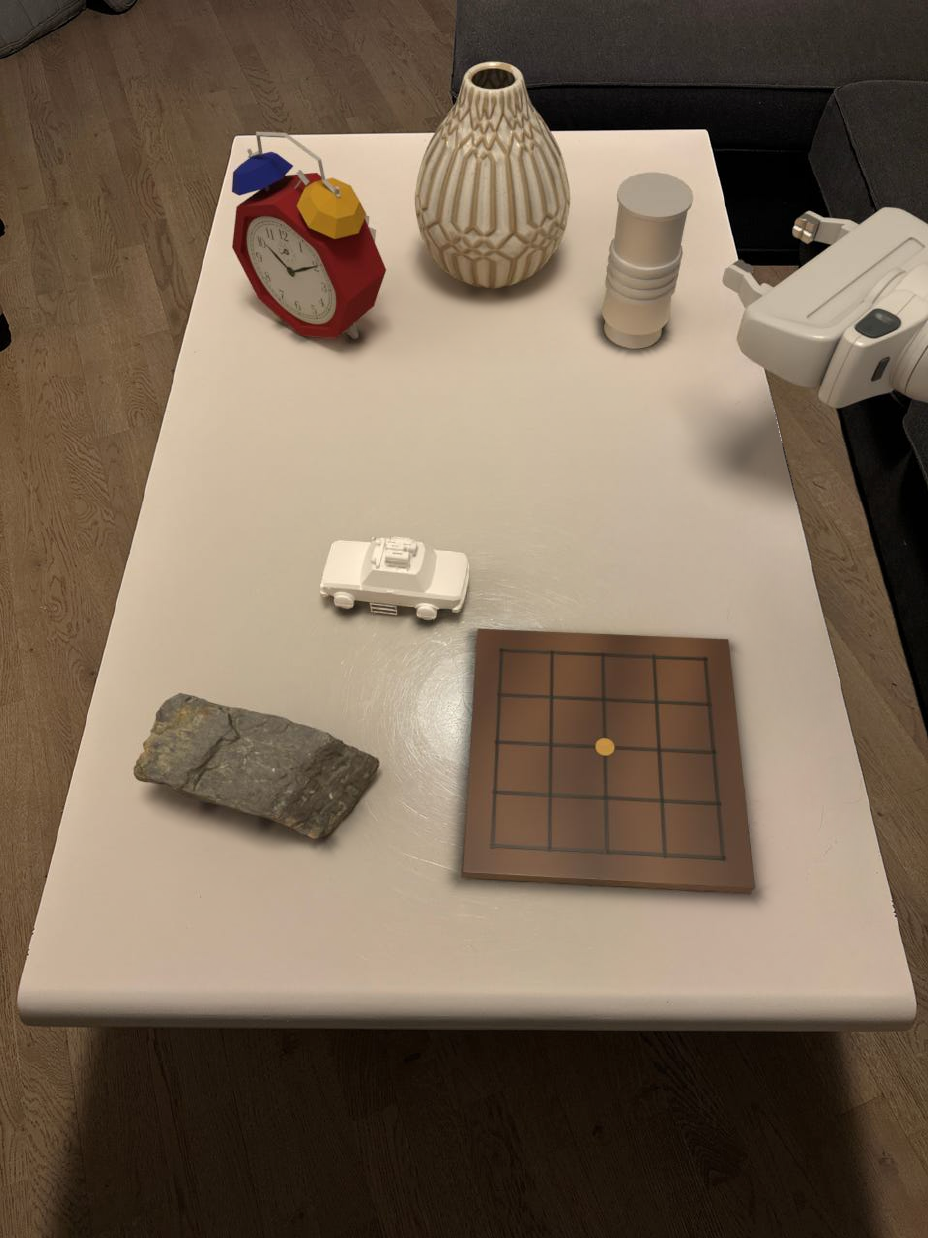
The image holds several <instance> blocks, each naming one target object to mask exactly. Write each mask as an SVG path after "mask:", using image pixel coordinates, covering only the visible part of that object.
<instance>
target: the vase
mask: <svg viewBox="0 0 928 1238" xmlns="http://www.w3.org/2000/svg"><path fill="white" fill-rule="evenodd" d="M416 178H417V179H416V184H415V192H414V210H415V211H414V212H415V217H416V222H417V226H418V230H419V233H420V236H421V238H422V241H423V243H424V245H425V247H426V249H427V251H428V252H429V254H430V256H431V257H432V258H433V260H434V261H435V262H436V263H437V264H438V266H439V267H440V268H441V269H442V270H443V271H445V272H446V273H447V274H449V275H450V276H451V277H453V278H455V279H456V280H458V281H461V282H463V283H465V284H467V285H470V286H473V287H478V288H482V289H499V288H506V287H509V286H512V285H516V284H518V283H521V282H523V281H526V280H527V279H529V278H530V277H532V276H534V275H535V274H536V273H537V272H538V271H540V270H542V268H544V267H545V265H546V264H547V263H548V262H549V260H551V258H552V256H553V255H554V254H555V252H556V250H557V249H558V247H559V245H560V243H561V241H562V239H563V237H564V234H565V231H566V229H567V228H566V227H567V225H568V219H569V216H570V208H571V189H570V181H569V176H568V171H567V167H566V163H565V160H564V157H563V154H562V151H561V148H560V146H559V144H558V142H557V140H556V138H555V136H554V135H553V133H552V131H551V130H550V128H549V126H548V125H547V123H546V121H545V120H544V118H543V117H542V116H541V114H540V113H539V112H538V110H537V109H536V107H534V105H533V103H532V101H531V99H530V96H529V93H528V89H527V86H526V81H525V78H524V75H523V73H522V72H521V70H520V69H518V68H517V67H516V66H514V65H512V64H510V63H507V62H501V61H486V62H485V61H484V62H480V63H477V64H476V65H473V66H471V67H470V68H469V69H468V70H466V72H465V74H464V75H463V78H462V81H461V85H460V88H459V93H458V95H457V98H456V100H455V103H454V104H453V106H452V108H451V109H450V110H449V111H448V113H447V114H446V115H445V117H444V118H443V120H441V122H440V123H439V125H438V127H437V129H436V130H435V132H434V133H433V135H432V137H431V138H430V140H429V143H428V145H427V147H426V148H425V152H424V154H423V156H422V160H421V163H420V166H419V170H418V174H417V177H416Z"/></svg>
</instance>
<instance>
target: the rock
mask: <svg viewBox="0 0 928 1238" xmlns="http://www.w3.org/2000/svg"><path fill="white" fill-rule="evenodd" d="M149 733H150V734H149V736H148V737H147V738H146V739H145V740H144V741H143V743H142V747H143V750H144V751H143V752H141V753H140V754H139V757H138V758H137V760H136V761H135V765H134V766H133V776H134V777H135V779H136V780H137V781H138V782H142V783H146V784H147V783H148V784H155V785H159V786H165V787H168V788H170V789H172V790H173V791H175V792H177V793H178V794H180V795H183V796H186V797H188V798H191V799H195V800H198V801H200V802H203V803H210V804H211V805H215V806H221V807H225V808H228V809H231V810H233V811H236V812H240V813H245V814H248V815H254V816H259V817H261V818H264V819H267V820H270V821H272V822H276V823H279V824H282V825H283V826H285V827H288V828H290V829H292V830H294V831H296V832H297V833H299V834H302V835H305V836H308V837H310V838H311V839H317V838H319V837H323V836H328V835H329V834H330V833H331V832H332V831H333V830H334V829H335V828H336V827H337V826H338V824H339V823H340V822H341V821H342V820H343V818H345V817H346V816H347V814H348V813H349V812H350V811H351V810H352V809H353V808H354V807H355V805H356V803H357V801H358V799H359V797H360V796H361V794H362V793H363V791H364V790H365V789H366V787H367V786H369V785H370V783H371V781H372V780H373V779H374V777H375V776H376V774H377V771H378V769H379V767H380V760H379V758H378V757H376V756H374V755H372V754H370V753H368V752H366V751H362V750H360V749H359V748H358V747H356V746H353V745H349V744H346V743H344V741H343V740H341V739H339V738H336V737H335V736H333V735H331V734H330V733H329V732H325V731H322V730H321V729H318V728H315V727H311V726H308V725H305V724H302V723H301V724H300V723H296V722H294V721H292V720H290V719H289V718H286V717H283V716H281V715H275V714H269V713H263V712H259V711H254V710H248V709H246V708H241V707H235V706H228V705H224V704H218V703H215V702H210V701H208V700H206V699H205V698H200V697H198V696H196V695H192V694H187V693H183V692H179V693H177V694H175V695H173V696H172V697H169V698H168V699H166V700H165V701H164V702H163V703H162V704H161V705H160V706H159V709H158V710H157V711H156V712H155V719H154V722H153V724H152V728H151V729H150V731H149Z"/></svg>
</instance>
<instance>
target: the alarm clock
mask: <svg viewBox="0 0 928 1238" xmlns="http://www.w3.org/2000/svg"><path fill="white" fill-rule="evenodd" d="M255 136H256V143H257V149H258V150H257V151H255V152H253V151H252V148H248V149H247V150H246V151H247V153H248V156H247V159H245V160H244V161H243V162H242V163H241V164H239V165H238V166H237V168H235V169H234V171H233V172H232V183H231V193H233V194H235V195H237V196H243V195H246V194H247V195H248V194H250V193H253V192H255V193H253V194H252V195H251V196H249V197H248V198H247V199H245V200H243V201H242V202H241V203H239V204H238V205H237V206H236V208H235V217H234V227H233V236H232V237H233V238H232V245H231V249H232V250H233V252H234V254H235V256H236V258H237V260H238V262H239V264H240V266H241V267H242V270H243V271H244V273H245V276H246V277H247V280H248V282H249V283H250V285H251V288H252V289H253V292H254V293H255V295H256V297H257V299H258V301H260V302H261V303H262V304H263V305H265V306H266V307H267V308H268V309H269V310H270V311H271V312H272V313H274V315H276V316H277V317H278V318H280V319H281V321H283V322H284V323H285V324H286V325H287V326H289V328H291V329H292V330H293V331H294V332H296V333H297V334H298V335H299V336H300V337H312V338H326V339H338V338H339V337H341V335H342V334H344V333H345V332H346V333H347V334H348V335H349V336H350V337H351V338H352V339H353V340H354V339H358V337H359V333H358V330H357V328H356V324H355V323H356V322H358V321H359V320H360V319H361V318H362V317H363V316H365V315H366V314H368V312H369V311H370V310H372V309H373V308H374V307H375V304H376V301H377V298H378V295H379V293H380V290H381V287H382V283H383V281H384V278H385V275H386V271H387V268H386V266H385V263H384V261H383V259H382V256H381V254H380V250H379V249H378V246H377V244H376V236H377V229H374V228H372V227H370V225H369V224H370V216H369V215H367V212H366V210H365V208H364V207H363V205H362V203H361V201H360V199H359V197H358V196H357V194H356V192H355V191H354V189H353V187H352V185H351V184H348V183H347V182H343V181H342V180H339V179H337V178H335V177H329V178H326V176H325V171H324V166H323V161H322V159H321V158H320V157H319V156H318V155H317V154H315V153H314V152H312V151H311V150H310V149H309V148H307V147H306V146H304V145H303V144H302V143H300V142H299V141H298V140H297V139H295V138H294V137H293V136H291V135H290V134H288V133H287V132H276V131H275V132H274V131H255ZM261 137H263V138H281V139H282V138H283V139H284V138H285V139H287V140H289V141H290V142H291V143H293V145H295V146H297V147H298V148H299V149H300V150H302V151H303V152H305V153H306V154H307V155H309V156H310V157H311V158H313V159H314V160H315V161H317V164H318V169H319V173H320V174H319V173H318V172H310V173H304V172H303V171H302V170H301V169H299V170H298V171H297V172H296V174H288V173H289V172H290V171H291V170H292V169H293V168H294V165H293V164H292V163H290V162H289V161H288V160H287V159H285V158H284V157H282V156H281V155H280V154H278V153H277V152H274V151H268V152H263V147H262V140H261ZM287 174H288V175H287Z"/></svg>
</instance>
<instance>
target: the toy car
mask: <svg viewBox="0 0 928 1238" xmlns="http://www.w3.org/2000/svg"><path fill="white" fill-rule="evenodd" d="M330 546H331V547H330V549H329V552H328V555H327V558H326V561H325V565H324V568H323V573H322V577H321V581H320V584H319V595H320V597H322V598H326V597H329V596H331V597H333V598H334V599H333V604H334V605H335V607H338V608H339V607H340V608H342V609H344V610H349V609H353V607H354V605H355V601H358V602H366V603H367V602H368V603H369V605H370V606H369V607H370V612H371V613H377V614H385V615H393V616H398V608H397V606H400V607H410V608H414V609H416V616H417V617H418V618H419V619H421V618H422V619H423V620H425V621H432V620H433V621H434V620H435V619H436V618H437V614H438V611H439V610H440V609H444V610H451V612H452V613H456V614H459V613H460V612H461V610H462V608H463V605H464V603H465V599H466V595H467V592H468V588H469V587H468V586H469V581H470V580H469V578H470V565H469V559H468V556H467V555H466V554H465V552H459V551H451V550H441V549H434V548H432V547H431V546H429V545H428V544H426V543H424V542H423V541H422V542H421V541H416V540H415V539H414V538H412V537H411V538H410V537H403V536H401V537H400V536H395V535H393V536H390V537H389V538H388V537H379V538H377V536H375V535H374V536H372V538H371V542H369V541H358V540H357V541H356V540H344V539H338V540H337V539H336V540H335V541H334V542H332V543H331V545H330ZM372 605H373V606H372ZM376 606H377V607H376ZM378 606H381V607H378ZM384 607H386V608H384ZM387 607H388V608H387ZM389 607H390V608H389ZM392 608H394V609H392ZM376 610H381V611H376ZM385 611H388V612H385ZM389 611H390V612H389ZM394 612H395V613H394Z"/></svg>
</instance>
